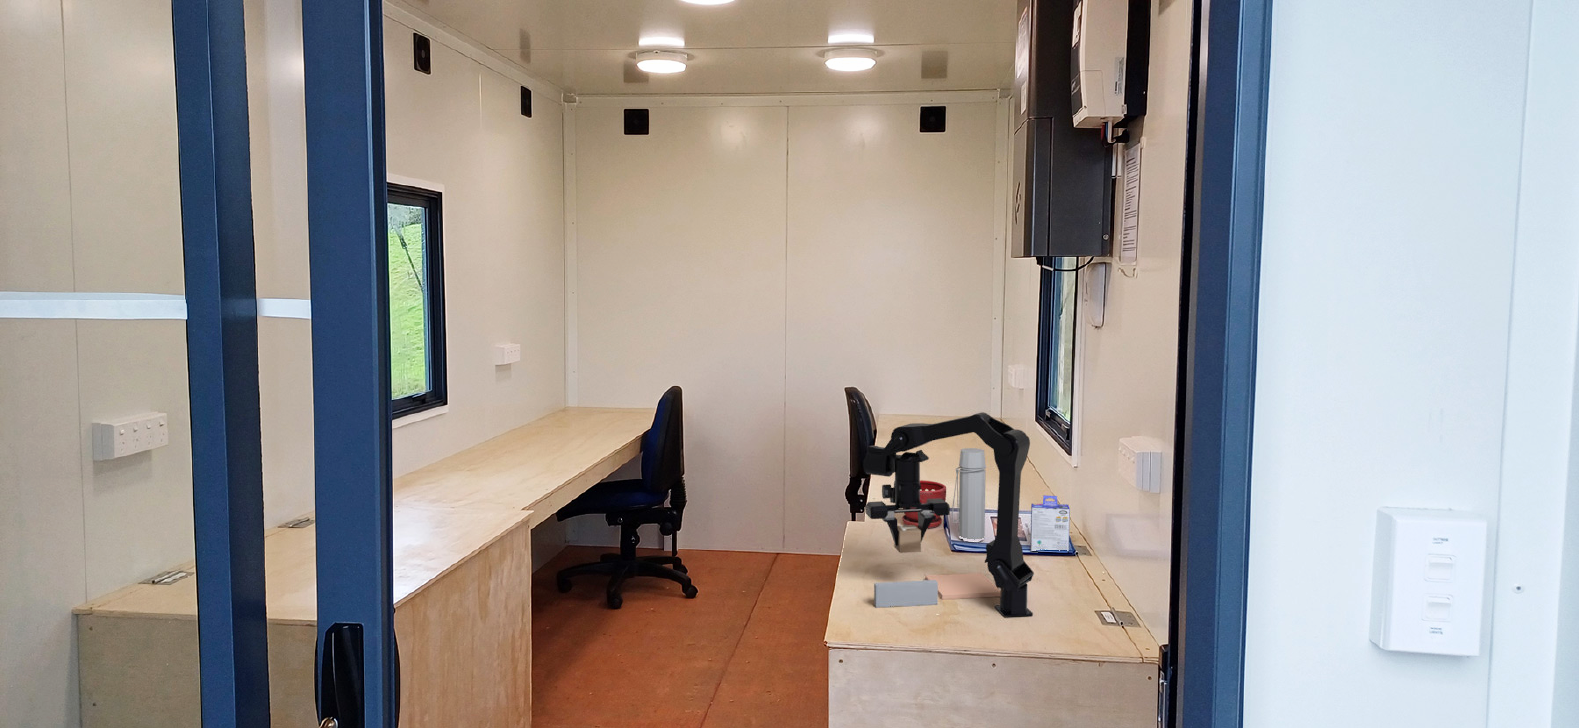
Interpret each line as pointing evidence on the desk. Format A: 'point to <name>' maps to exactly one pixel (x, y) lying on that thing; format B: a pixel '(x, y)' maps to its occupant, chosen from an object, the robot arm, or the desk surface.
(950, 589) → the mat
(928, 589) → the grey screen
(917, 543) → the walnut cube
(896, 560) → the desk surface
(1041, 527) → the ink cartridge box
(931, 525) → the plant pot
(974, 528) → the water bottle
